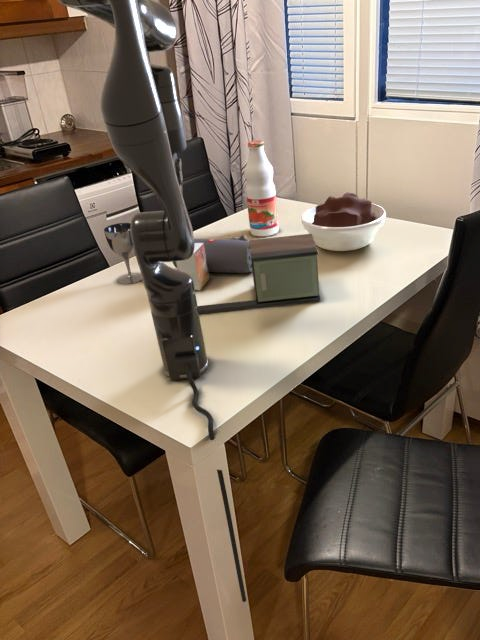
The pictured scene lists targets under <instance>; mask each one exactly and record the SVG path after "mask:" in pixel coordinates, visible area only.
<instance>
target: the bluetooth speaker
mask: <svg viewBox="0 0 480 640" xmlns="http://www.w3.org/2000/svg"><path fill="white" fill-rule="evenodd" d="M194 243H204V248H205V254H206V261H207V267H208V273H227V274H228V273H229V274H230V273H232V274H233V273H234V274H235V273H237V274H239V273H240V274H242V273H243V274H244V273H253V271H252V263H251V254H250V243H249V240H248V241H243V240H230V238H194ZM172 264H173V266H174V267H175V269H177V264H176V261H173V262H172Z"/></svg>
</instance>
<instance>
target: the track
mask: <svg viewBox="0 0 480 640" xmlns="http://www.w3.org/2000/svg"><path fill="white" fill-rule="evenodd" d="M316 247H317V246H316ZM316 247H315V248H306V249H296V250H287V251H277V252H268V253H258V254H251V261H261V260H270V259H280V258H289V257H298V256H308V255H317V256H318V255H319V250H318V248H316ZM315 302H321V295H320V292H319V293H318V296H309V297H300V298H290V299H281V300H272V301H263V302H258V300H256V299H252V300H241V301H232V302H223V303H222V302H221V303H214V304H213V303H211V304H204V305H197V306H198V311H199V315H203V314H214V313H223V312H231V311H241V310H251V309H260V308H261V309H262V308H269V307H278V306H288V305H297V304H306V303H315Z"/></svg>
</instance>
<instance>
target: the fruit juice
mask: <svg viewBox="0 0 480 640" xmlns="http://www.w3.org/2000/svg"><path fill="white" fill-rule="evenodd" d="M247 148H248V150H249V151H248V158H247V162H246V164H245V166H244V168H243V169H244V170H243V174H244V175H243V176H244V179H245V182H246V186H245V197H246V205H247V216H248V223H249V231H250V234H251V236H254V237H270V236H273V235H276V234H277V233H279V229H280V227H279V225H280V224H279V215H278V204H277V203H278V202H277V193H276V192H277V191H276V185H275V183H274V168H273V165H272V164H271V162H270V161H269V159H268V157H267V155H266V152H265V149H264V148H265V142H264V140H260V139H259V140H256V139H255V140H251V141H248V142H247Z"/></svg>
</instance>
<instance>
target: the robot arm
mask: <svg viewBox="0 0 480 640" xmlns="http://www.w3.org/2000/svg"><path fill="white" fill-rule="evenodd" d="M57 1H58V3H60V4H61V5H63V6H65V7H68V8H71V9H75V10H78V11H80V12H83V13H85V14H86V15H87V14H88V15H89V16H92V17H95V18H97V19H99V20H101V21H103V22H105V23H106V24H108V25H110V26H111V27H112V28H113V29H114V41H113V42H114V43H113V49H112V53H111V54H112V55H111V59H110V61H109V67H108V70H107V72H106V75H105V79H104V83H103V86H102V91H101V94H100V103H99V104H100V105H99V106H100V112H101V116H102V120H103V122H104V125H105V129H106V133H107V135H108V138H109V141H110V145H111V147H112V149H113V151H114V153H115V154H116V156H117V157H118V158H119V159H120V160H121V162H122V163H123V164H124V165H125V166H126V167H127V168H128V169H129V170H130V171H131V172H132V173H133V174H134V175H135V176H137V177H138V178H139V179H140V180H141V181H142V182H143V183H144V184H145V185H146V186H147V187H148V188H149V189H150V191H151V192H152V193H153V194H154V195H155V197H156V198H157V200H158V202H159V204H160V206H161V208H162V210H152V211H142V212H141V211H139V212H137V213H135V214H134V215H133V216H132V219H131V220H130V223H131V226H130V228H131V239H132V244H133V248H134V249H133V251H134V254H135V258H136V261H137V266H138V269H139V272H140V274H141V276H142V280H141V281H142V284H143V287H144V289H145V292H146V296H147V300H148V304H149V309H150V314H151V318H152V323H153V328H154V331H155V335H156V340H157V344H158V348H159V354H160V357H161V361H162V368H163V372H164V374H165V376H166V377H169V380H170V381H180V380H187V381H188V384H189V385H190V387H191V389H192V391H193V398H192V400H191V404H192V407H193V408H194V409H195V410H196V411H197V412H199V413H200V414H202V415H204V416H205V417H206V418H207V432H208V436H209V440H210V441H214V440H215V439H216V437H215V433H214V418H213V416H212V414H211V412H209V411H208V410H207V409H205V408H203V407H202V406H200V405H199V404H198V399H199V390H198V387H197V385H196V383H195V381H194V379H197V378H201V375H202V374H203V373H204V372H205V371H207V369H208V368H209V364H210V363H209V359H208V356H207V351H206V345H205V339H204V333H203V329H202V322H201V318H200V317H201V316H200V314H199V311H198V306H199V305H198V300H197V294H196V290H195V288H194V282H193V279H192V277H191V276H190V275H189V274H187V273H185V272H183V271H179V270H178V269H177V268H173V267H171V266H169V265H167V264H166V263H170V262H171V263H173V261H183V260H187V259H189V258H191V256H192V255H193V253H194V239H195V235H194V230H193V226H192V222H191V218H190V215H189V212H188V208H187V205H186V202H185V199H184V197H183V196H184V195H183V191H184V189H183V186H184V184H183V180H184V179H183V172H182V171H183V170H182V166H183V165H182V164H183V163H182V159H181V158H178V153H182V152H184V151H185V150H186V149H187V148H188V145H187V139H186V134H185V128H184V121H183V116H182V110H181V106H180V104H179V100H178V92H177V87H176V86H177V85H176V80H175V75H174V72H173V69H172V68H171V67H169V66H166V65H159V64H155V63H152V62H150V58H149V53H156V52H165V51H168V50H171V48H173V47H174V45H175V43H176V41H177V38H178V28H177V23H176V20H175V18H174V16H173V14H172V12H171V11H170V9H168V8H167V6H165V5H164V4H162V3H160V2H158V1H155V0H57ZM216 473H217V477H218V482H219V487H220V492H221V496H222V502H223V507H224V512H225V513H224V514H225V518H226V522H227V527H228V528H227V529H228V533H229V538H230V544H231V549H232V554H233V560H234V565H235V570H236V571H235V572H236V575H237V580H238V587H239V591H240V597H241V600H242V602H243V603H246V602H247V596H246V591H245V585H244V580H243V574H242V568H241V563H240V558H239V553H238V547H237V546H238V545H237V542H236V536H235V530H234V525H233V520H232V514H231V508H230V504H229V499H228V493H227V488H226V484H225V478H224V473H223V469H216Z"/></svg>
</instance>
